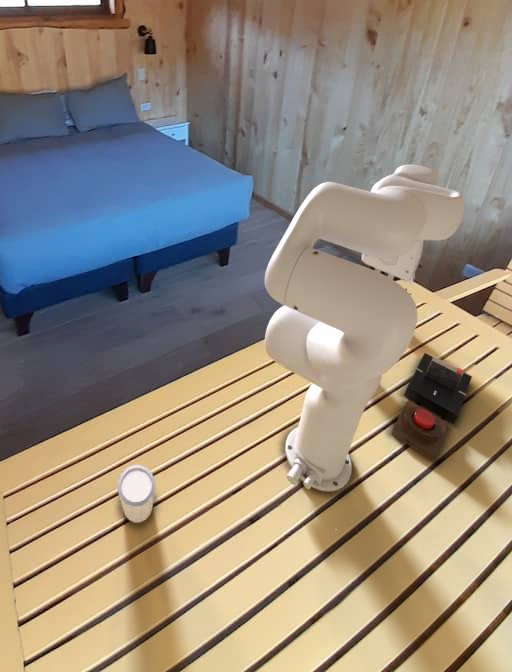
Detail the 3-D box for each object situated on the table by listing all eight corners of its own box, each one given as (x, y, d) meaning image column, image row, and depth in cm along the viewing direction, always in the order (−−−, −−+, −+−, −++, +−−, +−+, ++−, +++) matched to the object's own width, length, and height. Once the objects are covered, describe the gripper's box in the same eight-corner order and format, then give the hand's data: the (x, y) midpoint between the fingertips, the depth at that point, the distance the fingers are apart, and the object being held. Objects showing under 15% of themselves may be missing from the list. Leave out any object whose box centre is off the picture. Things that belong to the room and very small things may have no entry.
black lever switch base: (454, 424, 88) (458, 415, 87) (403, 395, 95) (406, 386, 93) (468, 385, 97) (472, 376, 95) (420, 360, 103) (424, 351, 102)
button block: (433, 461, 81) (438, 451, 80) (390, 434, 87) (395, 424, 85) (446, 427, 88) (451, 417, 86) (405, 403, 93) (409, 393, 91)
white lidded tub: (142, 535, 71) (141, 515, 68) (112, 511, 75) (109, 491, 71) (162, 498, 76) (162, 477, 73) (132, 477, 80) (131, 457, 77)
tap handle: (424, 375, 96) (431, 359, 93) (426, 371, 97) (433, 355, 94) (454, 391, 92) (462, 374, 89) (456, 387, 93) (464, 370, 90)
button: (430, 433, 83) (432, 428, 83) (410, 421, 86) (413, 416, 85) (434, 421, 86) (437, 416, 85) (415, 410, 88) (418, 405, 87)
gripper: (357, 216, 86) (340, 283, 94) (437, 245, 76) (410, 317, 84) (371, 204, 90) (353, 269, 99) (448, 230, 80) (421, 299, 89)
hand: (380, 291), depth 91 cm, fingers closed
